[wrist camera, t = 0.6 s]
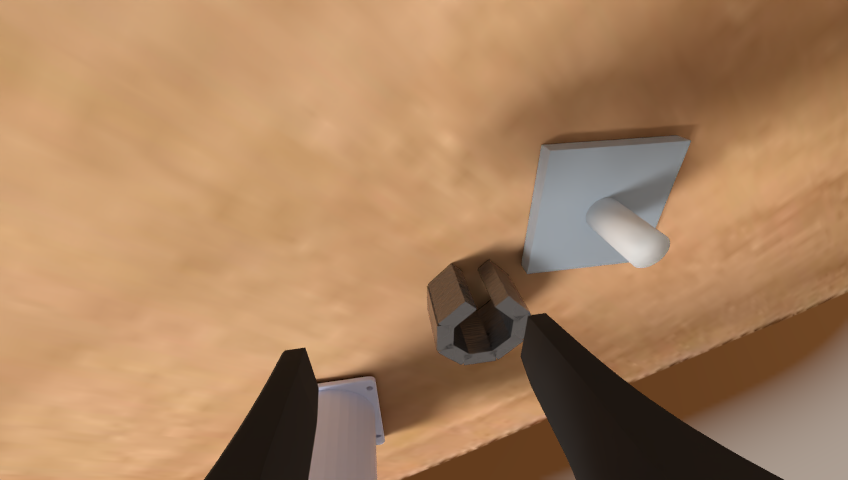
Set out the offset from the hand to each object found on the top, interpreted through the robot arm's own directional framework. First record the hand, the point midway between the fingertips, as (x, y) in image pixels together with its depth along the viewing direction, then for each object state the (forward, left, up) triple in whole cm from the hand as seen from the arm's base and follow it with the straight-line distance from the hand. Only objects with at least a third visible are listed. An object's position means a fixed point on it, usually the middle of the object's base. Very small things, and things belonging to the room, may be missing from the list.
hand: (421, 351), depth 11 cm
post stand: (-1, -12, -10) cm, 15 cm away
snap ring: (-7, -4, -10) cm, 12 cm away
